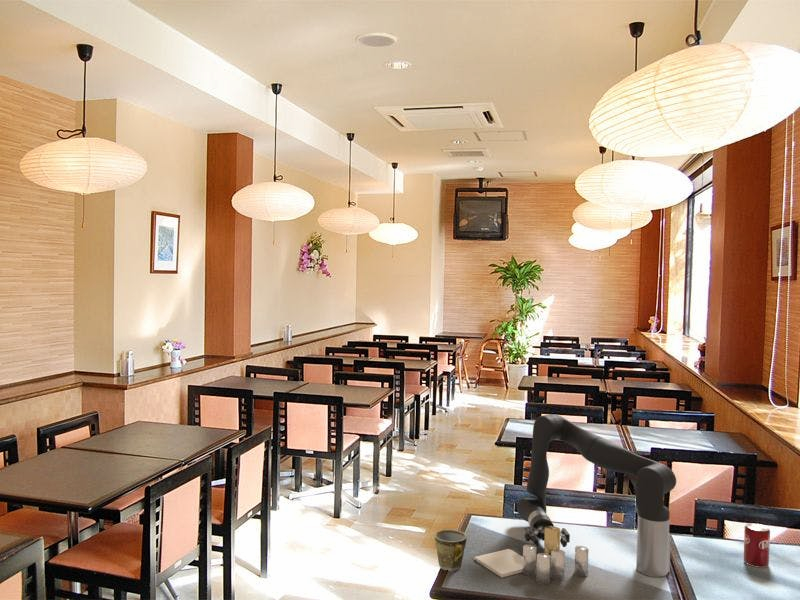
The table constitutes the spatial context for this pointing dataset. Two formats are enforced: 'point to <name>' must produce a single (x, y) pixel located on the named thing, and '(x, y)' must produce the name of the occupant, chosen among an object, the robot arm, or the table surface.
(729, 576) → the table surface
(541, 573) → the spacers
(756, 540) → the soda can
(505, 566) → the pad
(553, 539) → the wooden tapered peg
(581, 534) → the table surface
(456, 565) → the ceramic cup
